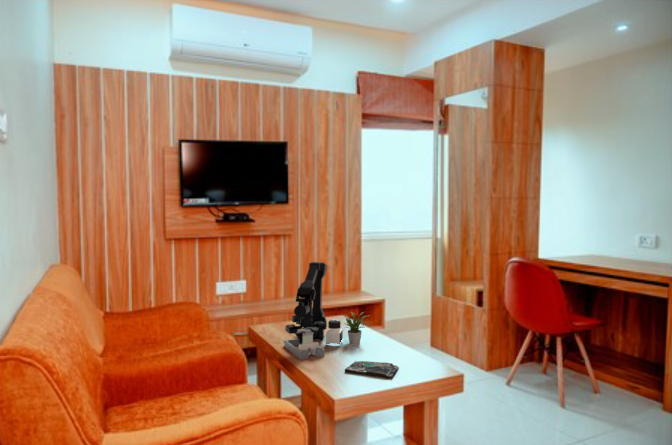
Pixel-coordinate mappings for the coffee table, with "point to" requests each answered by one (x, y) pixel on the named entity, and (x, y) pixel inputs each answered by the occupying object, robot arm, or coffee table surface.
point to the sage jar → (307, 336)
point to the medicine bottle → (334, 332)
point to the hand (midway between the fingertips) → (305, 345)
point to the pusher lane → (305, 353)
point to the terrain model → (373, 369)
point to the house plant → (354, 329)
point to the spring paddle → (309, 347)
